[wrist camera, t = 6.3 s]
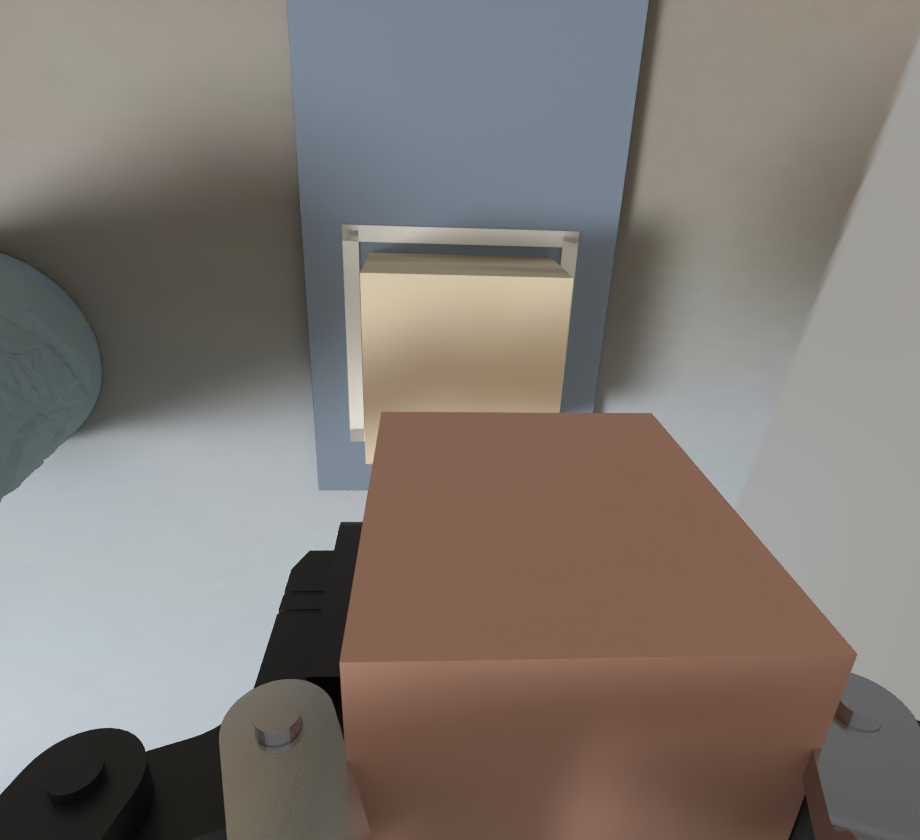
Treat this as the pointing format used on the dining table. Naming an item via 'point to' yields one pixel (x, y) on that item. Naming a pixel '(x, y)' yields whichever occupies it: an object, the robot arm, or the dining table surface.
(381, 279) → the oak base block
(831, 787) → the robot arm
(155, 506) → the dining table surface
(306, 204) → the board
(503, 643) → the terracotta block
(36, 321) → the grey-green pot
